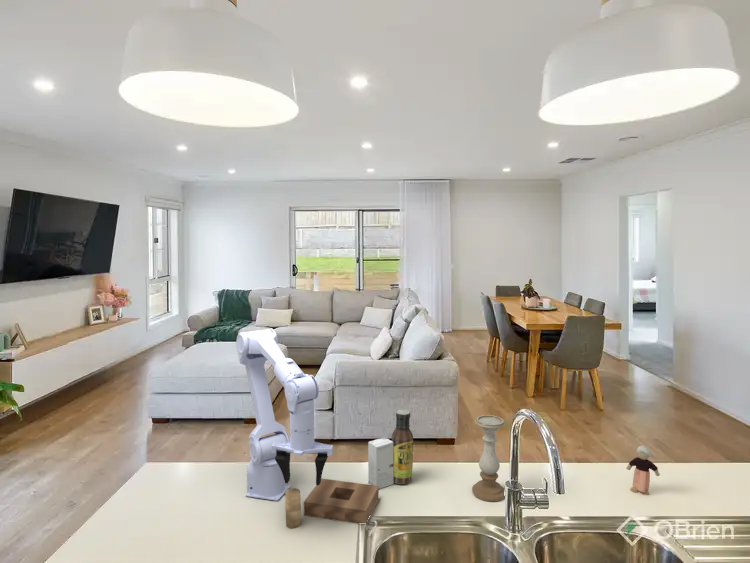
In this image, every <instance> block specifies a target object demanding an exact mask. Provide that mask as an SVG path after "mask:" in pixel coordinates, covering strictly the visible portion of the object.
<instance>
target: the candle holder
mask: <svg viewBox="0 0 750 563" xmlns="http://www.w3.org/2000/svg"><path fill="white" fill-rule="evenodd" d="M474 421H475V424H476V425H477V426H478V427H480V428H481V429H482V430H483V432H484V435H483V436H482V438H481V439H482V440H483V442H484V444H483V452H482V454H481V455H480V458H479V461H478V467H479V469H480V470H481V471H480V472H479V477H481V479H480V480H478V481H477V482H476V483H475V484H473V485H472V488H471V490H472V491H471V492H472V494H473V496H474V497H476V498H478V499H479V500H481V501H485V502H499V501H502V500H504V499H505V497H504V489H505V488H504V487H503V486H502V484H500V483H499V482H498V481H497V479H498V478H499V474H498V471H499V470H500V461H499V458H498V456H497V453H496V442H497V441H498V438H497V437H496V432H497V431H498V430H499V429H502V428H504V426H505V425H506V424H505V423H506V422H505V420H504V419H503V418H502V417H499V416H497V415H493V414H492V415H491V414H483V415H478V416H476V418H475V420H474Z"/></svg>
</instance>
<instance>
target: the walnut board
mask: <svg viewBox="0 0 750 563" xmlns="http://www.w3.org/2000/svg"><path fill="white" fill-rule="evenodd" d="M379 494H380V493H379V486H375V485H370V484H369V483H368V484H367V483H361V482H359V483H358V482H353V481H352V482H351V481H343V480H337V479H328V478H322V477H321V482H320V485H316V484H315V485H314V488H313V489H312V490H311V492H310V493H309V494H308V495H307V497H305V498H306V499H304V500H303V515H304V516H307V517H311V518H312V517H314V518H319V519H325V520H333V521H338V522H339V521H340V522H343V523H344V522H346V523H351V524H358V525H360V524H359V523H367V524H368V522H367V520H368V518H369V516H370V515H372V514H373V511H374V509H375V507H376V505H377V504H378V501H379V496H380V495H379ZM370 517H371V516H370ZM369 519H370V518H369ZM368 521H369V520H368Z"/></svg>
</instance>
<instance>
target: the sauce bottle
mask: <svg viewBox="0 0 750 563" xmlns="http://www.w3.org/2000/svg"><path fill="white" fill-rule="evenodd" d="M395 418H396V419H395V420H396V421H395V428H394V430H393V431H392V433H391V441H393V458H394V461H393V462H394V483H393V484H397V485H407V484H410V483H411V482H412V481H413V466H414V460H413V459H414V434H413V432H412V430H411V429H410V419H411V411H409V410H408V409H399V410H396V411H395Z"/></svg>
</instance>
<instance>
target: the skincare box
mask: <svg viewBox="0 0 750 563" xmlns="http://www.w3.org/2000/svg"><path fill="white" fill-rule="evenodd" d="M367 445H368V446H367V448H368V450H367V454H368V456H367V457H368V459H367V462H368V466H367V469H368V470H367V471H368V474H367V475H368V477H367V479H368V480H367V481H368V485H375V486H379V489H383V488H385V487H389V486H391V485H394V484H395V483H394V462H393V461H394V458H393V441H392V439H391V440H390V439H389V438H387V437H382V438H377V439H374V440H370V441H368V444H367Z"/></svg>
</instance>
